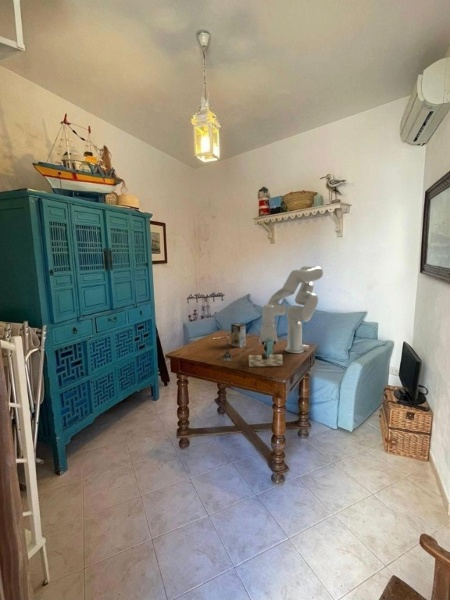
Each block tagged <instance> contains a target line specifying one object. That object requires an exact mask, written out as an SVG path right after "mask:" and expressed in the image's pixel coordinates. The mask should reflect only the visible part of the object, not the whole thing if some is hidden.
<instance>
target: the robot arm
mask: <svg viewBox="0 0 450 600" xmlns="http://www.w3.org/2000/svg"><path fill="white" fill-rule="evenodd" d="M323 275H324V270H323V269H322V267H321V266H313V265H312V266H311V265H307V266H306V265H304V266H301V268H300V269H293V270H291V272H290V273H289V275H288V276H287V279H286V280H285V282H284V284H283V286H282V287H281V288H280V289H278V290H277V291H276V292H275V293H273V294H272V296H271V297H270V298H269V300H268V302H267V304H264V305H263V306H262V324H261V328H260V337H259V339H258V342H259V343H260V344H261V345H263V350H264V353H265V352H267V346H266V342H267V341H272V342H273V347H274V345H276V344H277V343H279V341H280V340H279V338H278V332H277V325H278V321H276V319H275V317H276V316H277V317H278V316H281V317H282V316H284V315H285V314H286V318H287V346H286V347H285V348H284V349H285V352H287V353H291V354H301V353H304V351H305V349H309V347H310V346H309V344H308V345H306V344H303V323H307V322H309V321H310V320H311V318H312V317H313V314H314V313H315V310H316V308H317V306H318V303H319V297H318V295H317V294H315V293H314V292H313V290H314V286H315V285H314V282H315V281H318V280H320V279H321V278H322V277H323ZM299 285H300V287H299ZM298 287H299V289H298ZM297 289H298V291H297ZM296 291H297V293H296V295H295V298H294V303H295V304H297V305H294V304H293V305H289V306H288V307H287V306H286V305H285V304H283V303H279V302H280V301H282V300H283V299H285V298H287V297H291V296H292V295H294V294H295V292H296Z"/></svg>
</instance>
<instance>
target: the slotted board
mask: <svg viewBox="0 0 450 600" xmlns="http://www.w3.org/2000/svg"><path fill="white" fill-rule="evenodd" d="M283 359H284V358H283V354H280V353H279V354H273V355H269V359H267V358H266V359H263V356H262V354H249V355H248V366H249V367H277V366H279V367H280V366H283V362H284V361H283Z"/></svg>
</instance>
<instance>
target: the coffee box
mask: <svg viewBox="0 0 450 600" xmlns="http://www.w3.org/2000/svg"><path fill="white" fill-rule="evenodd" d="M230 328H231V329H230V330H231V331H230V332H231V333H230V334H231V338H230V339H231V346H233V347H236V348H243V347H246V346H247V345H246V344H247V343H246V342H247V341H246V337H247V336H246V333H247V332H246V331H247V330H246V328H247V326H246V324H244V323H238V322H236V323H231V326H230Z"/></svg>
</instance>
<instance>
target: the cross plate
mask: <svg viewBox="0 0 450 600" xmlns="http://www.w3.org/2000/svg"><path fill="white" fill-rule="evenodd" d="M266 346H267V352H265V351H264V356H265V357H266V359H269V355H274V346H273V342H272V341H267V342H266Z"/></svg>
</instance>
